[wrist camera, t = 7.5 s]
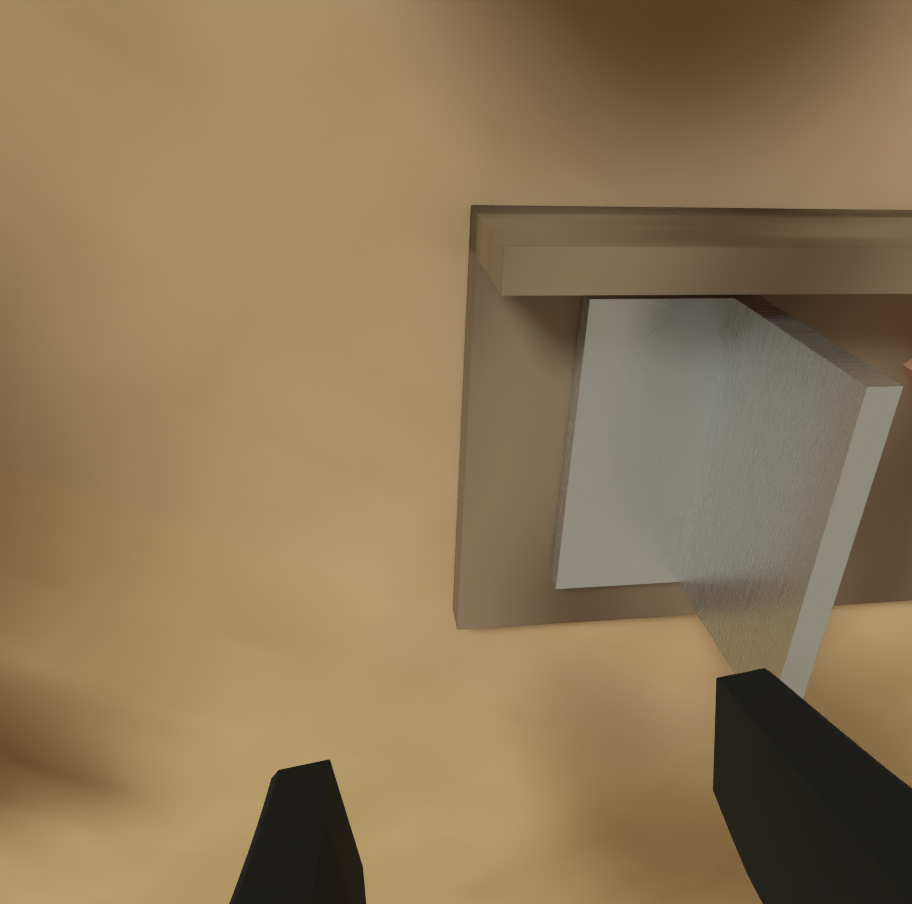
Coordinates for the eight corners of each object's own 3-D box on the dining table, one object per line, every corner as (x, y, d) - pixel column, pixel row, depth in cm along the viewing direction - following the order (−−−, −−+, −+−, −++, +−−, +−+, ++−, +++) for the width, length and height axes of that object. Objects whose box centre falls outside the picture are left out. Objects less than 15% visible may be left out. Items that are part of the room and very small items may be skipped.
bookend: (751, 291, 17) (903, 386, 12) (692, 568, 20) (796, 722, 15) (582, 292, 16) (678, 391, 12) (550, 576, 19) (616, 737, 15)
